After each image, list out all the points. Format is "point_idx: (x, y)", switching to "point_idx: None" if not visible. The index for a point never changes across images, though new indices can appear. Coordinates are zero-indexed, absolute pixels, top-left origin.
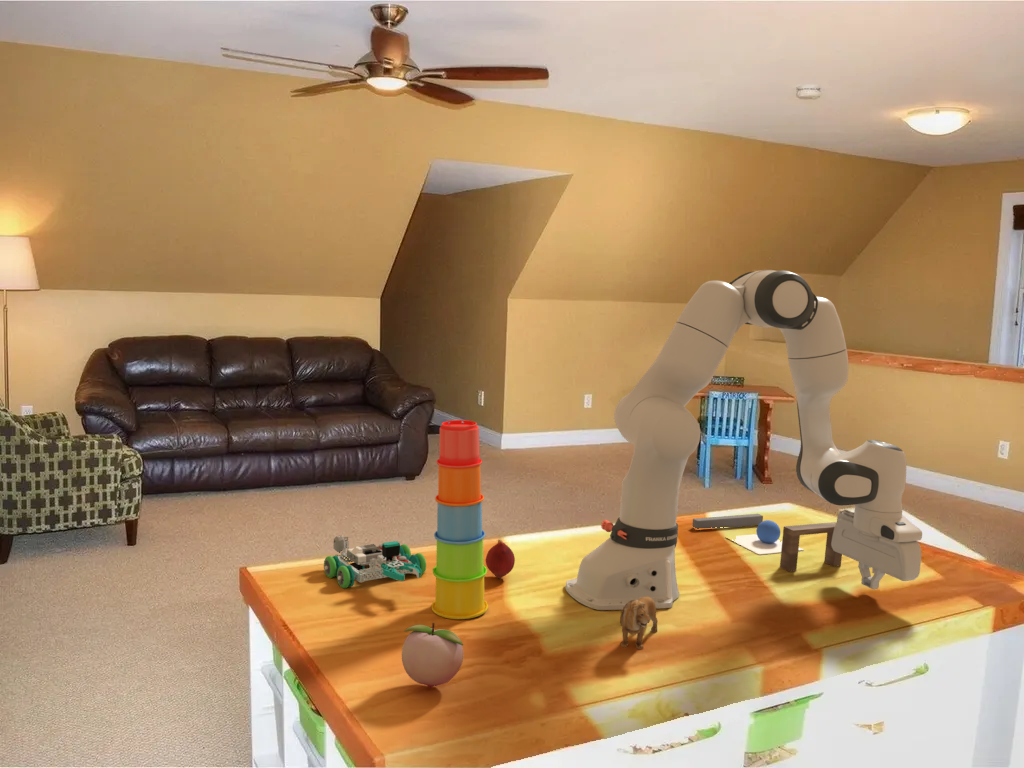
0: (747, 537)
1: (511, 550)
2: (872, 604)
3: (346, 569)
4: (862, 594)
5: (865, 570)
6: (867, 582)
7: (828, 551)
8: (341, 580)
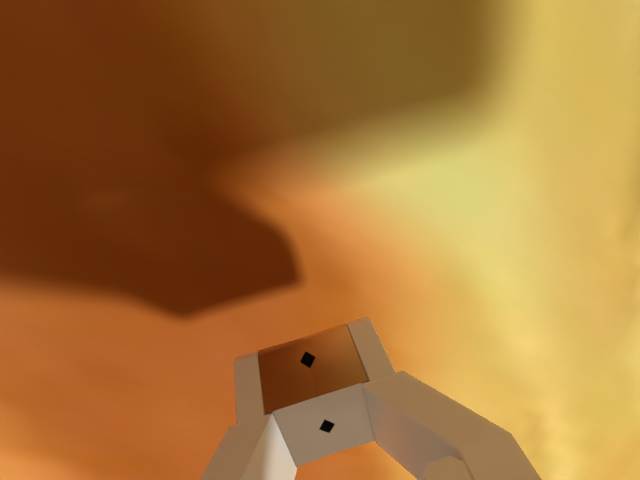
0: None
1: None
2: (41, 244)
3: None
4: (299, 262)
5: (428, 457)
6: (303, 367)
7: None
8: None
